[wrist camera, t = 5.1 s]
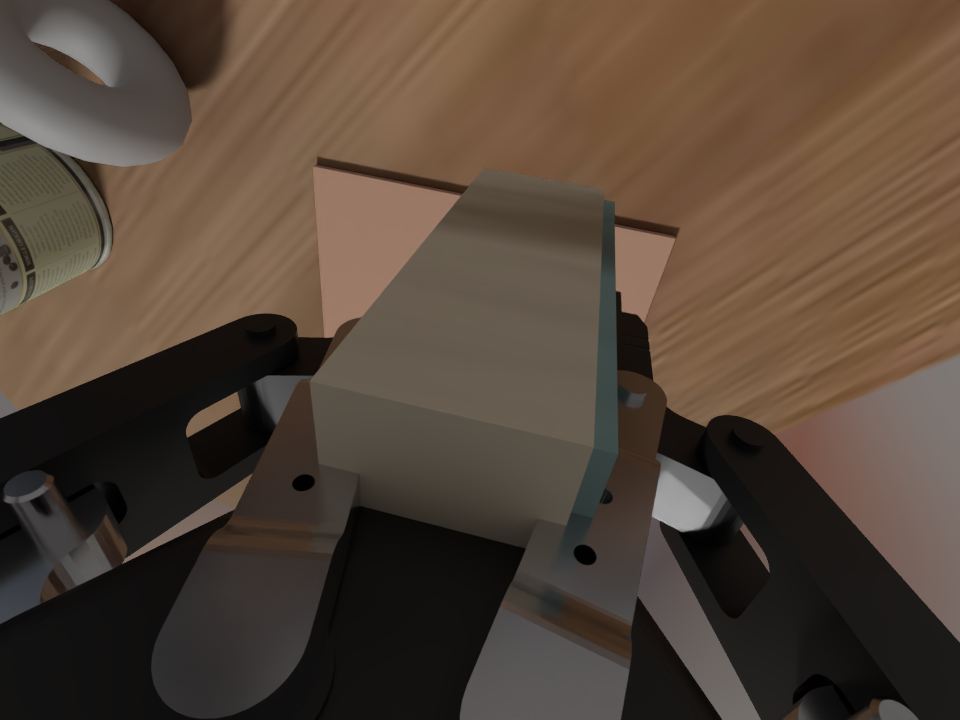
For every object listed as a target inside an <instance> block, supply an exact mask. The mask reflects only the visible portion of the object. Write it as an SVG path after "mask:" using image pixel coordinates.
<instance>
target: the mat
mask: <svg viewBox="0 0 960 720" xmlns="http://www.w3.org/2000/svg"><path fill="white" fill-rule="evenodd" d="M313 176H314V191H315V205H316V220H317V234H318V249H319V263H320V277H321V292H322V306H323V321H324V335H325V338H330V337H334V335H335V333H336V331H337V329H338V328H339V327H340V326H341V325H342V324H343V323H345V322H347V321H349V320H352V319H355V318H360V317H362V316H363V315H364V314H365V313H366V311H367V310H368V309H369V308H370V307H371V305H372V304H373V303H374V302H375V300H376V299H377V298H378V297H379V296H380V294H381V293H382V292H383V291H384V289H385V288H386V287H387V286H388V285H389V283H390V282H391V281H392V280H393V278H394V277H395V276H396V275H397V274H398V272H399V271H400V270H401V269H402V267H403V266H404V265H405V264H406V263H407V261H408V260H409V259H410V258H411V256H412V255H413V254H414V253H415V252H416V250H417V249H418V248H419V247H420V245H421V244H422V243H423V242H424V241H425V239H426V238H427V237H428V236H429V234H430V233H431V232H432V231H433V230H434V228H435V227H436V226H437V225H438V223H439V222H440V221H441V220H442V219H443V217H444V216H445V215H446V214H447V212H448V211H449V210H450V209H451V208H452V206H453V205H454V204H455V203H456V201H457V200H458V199H459V198H460V197H461V195H462V194H461V193H456V192H451V191H446V190H441V189H436V188H431V187H426V186H421V185H416V184H411V183H406V182H401V181H396V180H391V179H386V178H381V177H376V176H371V175H366V174H361V173H356V172H351V171H346V170H341V169H336V168H331V167H326V166H321V165H315V166H313ZM675 239H676V238H675V236H673V235H668V234H663V233H658V232H652V231H647V230H642V229H637V228H632V227H627V226H622V225H617V224H615V269H616V291H619V292H621V303H622V312H626V313H631V314H636V315H638V316H639V317H640V318H641V320H642V321H643V322H644V321H645V319H646V316H647V314H648V311H649V308H650V306H651V303H652V300H653V298H654V295H655V292H656V290H657V287H658V284H659V282H660V279H661V276H662V274H663V271H664V269H665V266H666V263H667V261H668V258H669V255H670V253H671V250H672V247H673V245H674V242H675Z"/></svg>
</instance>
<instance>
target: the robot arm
mask: <svg viewBox="0 0 960 720" xmlns="http://www.w3.org/2000/svg"><path fill="white" fill-rule="evenodd" d="M361 318H362V317H360V318H355V319H352V320H349V321H347V322H345V323H343V324H342V325H341V326H340V327H339V328H338V329H337V331H336V333H335V335H334V337H330V338H310V337H298V333H297V326H296V324H295V323H294V322H293V321H292V320H291V319H289V318H287V317H285V316H281V315H277V314H255V315H250V316H246V317H243V318H240V319H238V320H235V321H233V322H231V323H228V324H226V325H223V326H221V327H219V328H216V329H214V330H211V331H209V332H207V333H204V334H202V335H199V336H197V337H195V338H192V339H190V340H187V341H185V342H183V343H180V344H178V345H175V346H173V347H171V348H168V349H166V350H163V351H161V352H159V353H156V354H154V355H151V356H149V357H147V358H144V359H142V360H139V361H137V362H135V363H132V364H130V365H127V366H125V367H123V368H120V369H118V370H115V371H113V372H111V373H108V374H106V375H103V376H101V377H99V378H96V379H94V380H91V381H89V382H87V383H84V384H82V385H79V386H77V387H75V388H72V389H70V390H67V391H65V392H63V393H60V394H58V395H55V396H53V397H51V398H48V399H46V400H43V401H41V402H39V403H36V404H34V405H31V406H29V407H27V408H24V409H22V410H19V411H17V412H15V413H12V414H10V415H7V416H5V417H3V418H0V720H722V719H721V717H720V716H719V714H718V713H717V711H716V710H715V709H714V707H713V706H712V704H711V703H710V701H709V700H708V698H707V697H706V695H705V694H704V692H703V691H702V690H701V688H700V687H699V685H698V684H697V682H696V681H695V679H694V678H693V677H692V675H691V673H690V672H689V670H688V669H687V668H686V666H685V665H684V663H683V662H682V660H681V659H680V658H679V656H678V655H677V653H676V651H675V650H674V649H673V647H672V646H671V644H670V643H669V641H668V640H667V639H666V637H665V636H664V634H663V632H662V631H661V630H660V628H659V627H658V625H657V624H656V622H655V621H654V619H653V618H652V616H651V615H650V614H649V612H648V611H647V609H646V608H645V606H644V605H643V603H642V602H641V600H640V599H639V597H638V596H637V594H638V589H639V583H640V578H641V572H642V567H643V562H644V556H645V551H646V545H647V540H648V535H649V529H650V524H651V518H652V517H654V518H656V519H658V520H660V528H661V531H662V534H663V535H664V538H665V539H666V541H667V543H668V545H669V547H670V549H671V551H672V553H673V554H674V556H675V558H676V560H677V562H678V564H679V566H680V568H681V570H682V571H683V573H684V575H685V577H686V579H687V581H688V583H689V585H690V587H691V588H692V590H693V592H694V594H695V596H696V598H697V599H698V602H699V603H700V605H701V607H702V609H703V611H704V613H705V615H706V616H707V618H708V620H709V622H710V624H711V626H712V628H713V630H714V632H715V634H716V635H717V637H718V639H719V641H720V643H721V645H722V647H723V649H724V650H725V652H726V654H727V656H728V658H729V660H730V662H731V664H732V666H733V668H734V669H735V671H736V673H737V675H738V677H739V679H740V681H741V683H742V684H743V686H744V688H745V690H746V692H747V694H748V696H749V698H750V700H751V701H752V703H753V705H754V707H755V709H756V711H757V713H758V714H759V716H760V718H761V720H960V643H959V641H958V640H957V639H956V638H955V637H954V636H953V635H952V633H951V632H950V631H949V630H948V629H947V628H946V627H945V626H944V624H943V623H942V622H941V621H940V620H939V619H938V618H937V617H936V615H935V614H934V613H933V612H932V611H931V610H930V609H929V608H928V607H927V605H926V604H925V603H924V602H923V601H922V600H921V599H920V598H919V597H918V595H917V594H916V593H915V592H914V591H913V590H912V589H911V588H910V586H909V585H908V584H907V583H906V582H905V581H904V580H903V579H902V577H901V576H900V575H899V574H898V573H897V572H896V571H895V570H894V568H893V567H892V566H891V565H890V564H889V563H888V562H887V561H886V560H885V558H884V557H883V556H882V555H881V554H880V553H879V552H878V550H876V548H875V547H874V546H873V545H872V544H871V543H870V541H869V540H868V539H867V538H866V537H865V536H864V535H863V534H862V533H861V531H859V529H858V528H857V527H856V526H855V525H854V524H853V523H852V521H851V520H850V519H849V518H848V517H847V516H846V515H845V513H844V512H843V511H842V510H841V509H840V508H839V507H838V506H837V504H836V503H835V502H834V501H833V500H832V499H831V498H830V497H829V496H828V494H827V493H826V492H825V491H824V490H823V489H822V488H821V486H820V485H819V484H818V483H817V482H816V481H815V480H814V479H813V478H812V476H811V475H810V474H809V473H808V472H807V471H806V470H805V469H804V467H803V466H802V465H801V464H800V463H799V462H798V461H797V460H796V459H795V457H794V456H793V455H792V454H791V453H790V452H789V451H788V450H787V448H786V447H785V446H784V445H783V444H782V443H781V442H780V441H779V439H777V437H776V436H775V435H774V434H772V433H771V432H770V431H769V430H767V429H766V428H764V427H763V426H761V425H759V424H757V423H755V422H753V421H751V420H748V419H745V418H742V417H738V416H732V415H722V416H718V417H715V418H713V419H712V420H711V421H710V422H709V423H708V425H707V427H704V426H702V425H699V424H697V423H695V422H693V421H690V420H688V419H686V418H684V417H682V416H680V415H678V414H676V413H675V412H673V411H672V410H670V409H669V408H668V407H666V405H667V398H666V395H665V393H664V391H663V390H662V388H661V387H660V386H659V385H658V384H656V383H655V382H654V381H653V374H652V365H651V356H650V351H649V349H650V347H649V341H648V330H647V326H646V325H645V324H644V322H643V321H642V320H641V318H640V317H639V316H638V315H636V314H631V313H626V312H622V303H621V292H619V291H616V333H617V398H618V456H617V459H616V461H615V464H614V466H613V469H612V472H611V474H610V477H609V479H608V482H607V484H606V487H605V489H604V492H603V494H602V497H601V499H600V502H599V505H598V507H597V510H596V512H595V515H594V517H593V518H591V517H587V516H583V515H579V514H575V513H571V514H570V517H569V520H568V523H567V525H566V526H565V525H561V524H557V523H553V522H549V521H545V520H541V519H538V521H537V524H536V526H535V528H534V531H533V533H532V536H531V538H530V541H529V543H528V545H527V548H522V547H518V546H514V545H510V544H507V543H503V542H499V541H495V540H491V539H487V538H483V537H479V536H475V535H472V534H468V533H464V532H460V531H456V530H452V529H448V528H444V527H441V526H437V525H433V524H429V523H425V522H421V521H417V520H413V519H409V518H406V517H402V516H398V515H394V514H390V513H386V512H382V511H378V510H375V509H371V508H367V507H363V506H360V502H361V493H360V474H358V473H354V472H350V471H346V470H342V469H338V468H334V467H330V466H326V465H322V464H319V462H318V453H317V444H316V435H315V426H314V417H313V408H312V399H311V390H310V380H311V379H312V377H313V376H314V375H315V374H316V373H317V371H318V370H319V369H320V368H321V366H322V365H323V364H324V363H325V362H326V360H327V359H328V358H329V357H330V355H331V354H332V353H333V352H334V351H335V349H336V348H337V347H338V346H339V344H340V343H341V342H342V341H343V340H344V338H345V337H346V336H347V335H348V333H349V332H350V331H351V330H352V329H353V327H354V326H355V325H356V324H357V322H358V321H359V320H360V319H361ZM235 392H238V397H239V401H240V406H241V408H240V409H238V410H236V411H235V412H233V413H231V414H229V415H227V416H226V417H224V418H222V419H220V420H218V421H217V422H215V423H213V424H211V425H210V426H208V427H206V428H204V429H202V430H201V431H199V432H197V433H195V434H193V435H192V436H190V437H188V438H187V436H186V428H187V425H188V423H189V421H190V420H191V419H192V417H193V416H194V415H195V414H197V413H198V412H199V411H201V410H203V409H205V408H207V407H209V406H211V405H212V404H214V403H216V402H218V401H220V400H222V399H224V398H226V397H228V396H230V395H231V394H233V393H235ZM252 473H253V474H252ZM250 474H252V476H251V478H250V480H249V482H248V484H247V486H246V488H245V490H244V492H243V494H242V496H241V498H240V500H239V502H238V504H237V506H236V508H235V510H233V511H230V512H228V513H227V514H224V515H222V516H220V517H218V518H216V519H214V520H212V521H210V522H208V523H206V524H204V525H202V526H200V527H198V528H195V529H193V530H191V531H190V532H188V533H185V534H183V535H181V536H179V537H177V538H175V539H173V540H171V541H169V542H167V543H165V544H163V545H160V546H158V547H156V548H154V549H152V550H150V551H148V552H146V553H144V554H142V555H140V556H138V557H136V558H134V559H132V560H130V561H128V562H126V563H123V561H124V559H125V558H126V557H128V556H130V555H131V554H132V553H134V552H136V551H137V550H138V549H140V548H141V547H143V546H144V545H146V544H147V543H149V542H150V541H152V540H153V539H155V538H156V537H158V536H159V535H161V534H162V533H164V532H165V531H167V530H168V529H170V528H171V527H173V526H174V525H176V524H177V523H179V522H180V521H181V520H183V519H185V518H186V517H188V516H189V515H190V514H192V513H194V512H195V511H197V510H198V509H200V508H201V507H203V506H204V505H206V504H207V503H209V502H210V501H212V500H213V499H215V498H216V497H218V496H219V495H221V494H222V493H224V492H225V491H227V490H228V489H230V488H231V487H233V486H234V485H236V484H237V483H239V482H240V481H242V480H243V479H245V478H246V477H247V476H249V475H250ZM743 523H744V524H745V525H746V527H747V528H748V530H749V531H750V532H751V534H752V535H753V537H754V538H755V540H756V541H757V542H758V544H759V545H760V547H761V548H762V550H763V551H764V553H765V555H766V557H767V560H768V563H769V569H770V573H769V572H768V570H767V569H766V567H765V566H764V564H763V563H762V562H761V560H760V559H759V557H758V556H757V554H756V553H755V551H754V550H753V548H752V547H751V545H750V544H749V542H748V541H747V539H746V538H745V536H744V535H743V533H742V532H741V530H740V528H741V526H742V525H743ZM122 563H123V564H122Z"/></svg>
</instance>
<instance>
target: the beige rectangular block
mask: <svg viewBox="0 0 960 720" xmlns="http://www.w3.org/2000/svg"><path fill="white" fill-rule="evenodd" d="M310 390H311V399H312V408H313V417H314V426H315V435H316V444H317V453H318V462H319V464H322V465H326V466H330V467H334V468H338V469H342V470H346V471H350V472H354V473H358V474H360V493H361V502H360V506H363V507H367V508H371V509H375V510H378V511H382V512H386V513H390V514H394V515H398V516H402V517H406V518H409V519H413V520H417V521H421V522H425V523H429V524H433V525H437V526H441V527H444V528H448V529H452V530H456V531H460V532H464V533H468V534H472V535H475V536H479V537H483V538H487V539H491V540H495V541H499V542H503V543H507V544H510V545H514V546H518V547H522V548H527V545H528V543H529V541H530V538H531V536H532V533H533V531H534V528H535V526H536V524H537V521H538V519H541V520H545V521H549V522H553V523H557V524H561V525H565V526H566V525H567V523H568V520H569V517H570V514H571V513H575V514H579V515H583V516H587V517H591V518H593V517H594V515H595V512H596V510H597V507H598V505H599V502H600V499H601V497H602V494H603V492H604V489H605V487H606V484H607V482H608V479H609V477H610V474H611V472H612V469H613V466H614V464H615V461H616V459H617V456H618V398H617V333H616V269H615V204H614V202H612V201H606V200H604V189H601V188H595V187H590V186H584V185H578V184H573V183H567V182H561V181H556V180H550V179H544V178H539V177H533V176H528V175H522V174H516V173H511V172H505V171H499V170H494V169H488V168H483V170H482V171H481V172H480V173H479V175H478V176H477V177H476V178H475V179H474V181H473V182H472V183H471V184H470V186H469V187H468V188H467V189H466V190H465V192H464V193H463V194H462V195H461V197H460V198H459V199H458V200H457V201H456V203H455V204H454V205H453V206H452V208H451V209H450V210H449V211H448V212H447V214H446V215H445V216H444V217H443V219H442V220H441V221H440V222H439V223H438V225H437V226H436V227H435V228H434V230H433V231H432V232H431V233H430V234H429V236H428V237H427V238H426V239H425V241H424V242H423V243H422V244H421V245H420V247H419V248H418V249H417V250H416V252H415V253H414V254H413V255H412V256H411V258H410V259H409V260H408V261H407V263H406V264H405V265H404V266H403V267H402V269H401V270H400V271H399V272H398V274H397V275H396V276H395V277H394V278H393V280H392V281H391V282H390V283H389V285H388V286H387V287H386V288H385V289H384V291H383V292H382V293H381V294H380V296H379V297H378V298H377V299H376V300H375V302H374V303H373V304H372V305H371V307H370V308H369V309H368V310H367V311H366V313H365V314H364V315H363V316H362V318H361V319H360V320H359V321H358V322H357V324H356V325H355V326H354V327H353V329H352V330H351V331H350V332H349V333H348V335H347V336H346V337H345V338H344V340H343V341H342V342H341V343H340V344H339V346H338V347H337V348H336V349H335V351H334V352H333V353H332V354H331V355H330V357H329V358H328V359H327V360H326V362H325V363H324V364H323V365H322V366H321V368H320V369H319V370H318V371H317V373H316V374H315V375H314V376H313V377H312V379H311V380H310Z"/></svg>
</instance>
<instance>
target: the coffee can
mask: <svg viewBox="0 0 960 720" xmlns="http://www.w3.org/2000/svg"><path fill="white" fill-rule="evenodd" d="M112 239H113V236H112V226H111V223H110V219H109V215H108V212H107V209H106V207H105V204H104V202H103V200H102V198H101V196H100V195H99V193H98V191H97V190H96V188H95V186H94V185H93V183H92V182H91V180H90V179H89V178H88V176H87V175H86V174H85V172H84V171H83V169H82V168H81V167H80V166H79V165H78V164H77V163H76V162H75V161H74V160H73V159H72V158H71V157H70V156H69V155H67V154H64V153H61V152H58V151H55V150H53V149H50V148H47V147H44V146H42V145H40V144H39V143H37V142H35V141H33V140H31V139H29V138H27V137H25V136H24V135H22V134H20V133H18V132H16V131H14V130H12V129H10V128H9V127H7V126H5V125H3V124H2V123H1V122H0V315H2V314H4V313H6V312H8V311H10V310H12V309H14V308H16V307H18V306H20V305H22V304H23V303H25V302H27V301H29V300H31V299H33V298H35V297H37V296H39V295H41V294H43V293H45V292H47V291H49V290H51V289H53V288H55V287H57V286H59V285H61V284H62V283H64V282H66V281H68V280H70V279H72V278H74V277H76V276H78V275H80V274H82V273H84V272H86V271H88V270H92V269H94V268H97V267H99V266H100V265H102V264H103V262H104V261H105V260H106V259H107V257H108V255H109V254H110V250H111V247H112Z"/></svg>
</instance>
